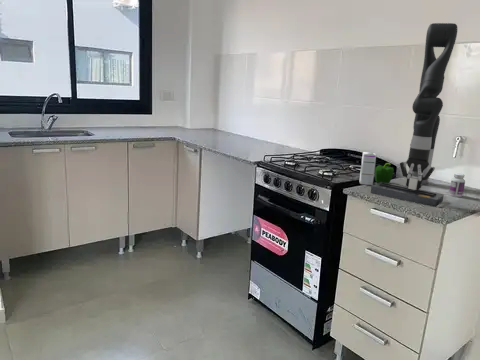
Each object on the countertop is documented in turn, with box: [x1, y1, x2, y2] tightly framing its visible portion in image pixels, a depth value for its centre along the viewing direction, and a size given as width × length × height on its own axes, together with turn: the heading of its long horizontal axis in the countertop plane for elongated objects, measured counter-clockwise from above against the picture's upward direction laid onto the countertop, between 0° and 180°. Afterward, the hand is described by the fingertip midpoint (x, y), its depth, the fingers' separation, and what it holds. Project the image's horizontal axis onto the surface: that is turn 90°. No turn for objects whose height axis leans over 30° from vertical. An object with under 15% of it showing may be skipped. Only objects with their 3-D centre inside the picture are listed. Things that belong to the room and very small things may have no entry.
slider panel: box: [370, 182, 445, 208], centre depth 164 cm, size 12×26×4 cm, turn 51°
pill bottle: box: [448, 172, 466, 198], centre depth 171 cm, size 5×5×10 cm
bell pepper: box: [374, 162, 395, 184], centre depth 186 cm, size 8×8×10 cm
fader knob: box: [408, 177, 418, 191], centre depth 162 cm, size 4×3×5 cm
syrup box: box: [358, 151, 377, 186], centre depth 182 cm, size 6×6×14 cm
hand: (413, 188), depth 162 cm, fingers closed on fader knob, 3 cm apart
